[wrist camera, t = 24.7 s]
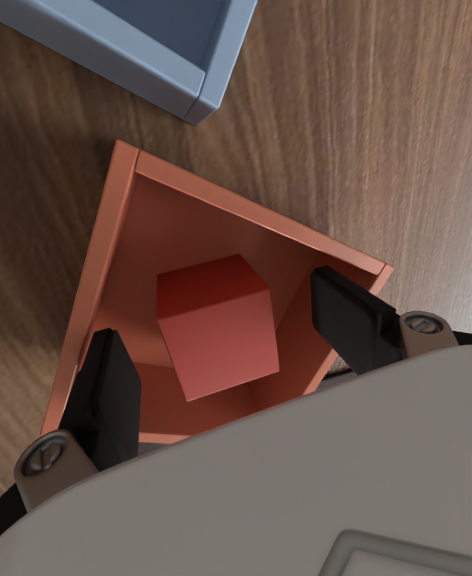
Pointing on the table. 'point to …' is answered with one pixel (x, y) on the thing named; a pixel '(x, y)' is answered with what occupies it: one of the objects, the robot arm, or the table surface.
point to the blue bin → (145, 44)
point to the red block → (217, 325)
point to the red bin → (183, 253)
